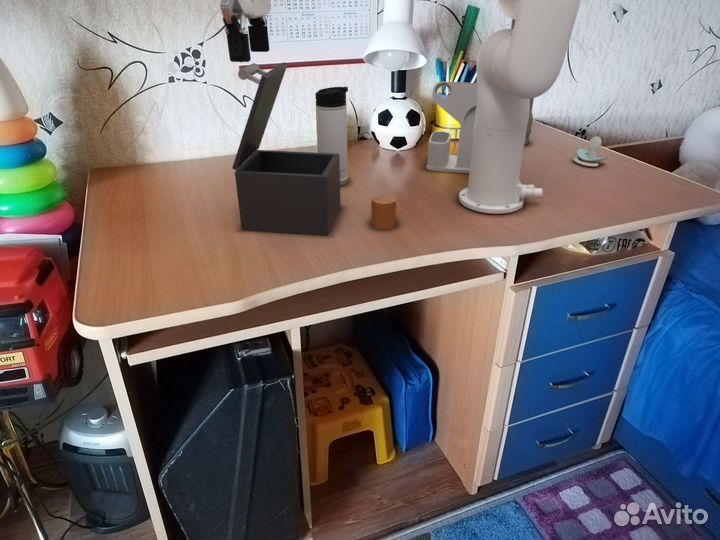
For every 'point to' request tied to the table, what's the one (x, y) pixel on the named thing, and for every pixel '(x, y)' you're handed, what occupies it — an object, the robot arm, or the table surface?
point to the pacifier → (590, 153)
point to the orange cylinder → (383, 211)
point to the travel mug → (333, 125)
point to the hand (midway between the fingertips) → (250, 56)
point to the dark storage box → (289, 192)
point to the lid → (258, 108)
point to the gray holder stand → (464, 112)
